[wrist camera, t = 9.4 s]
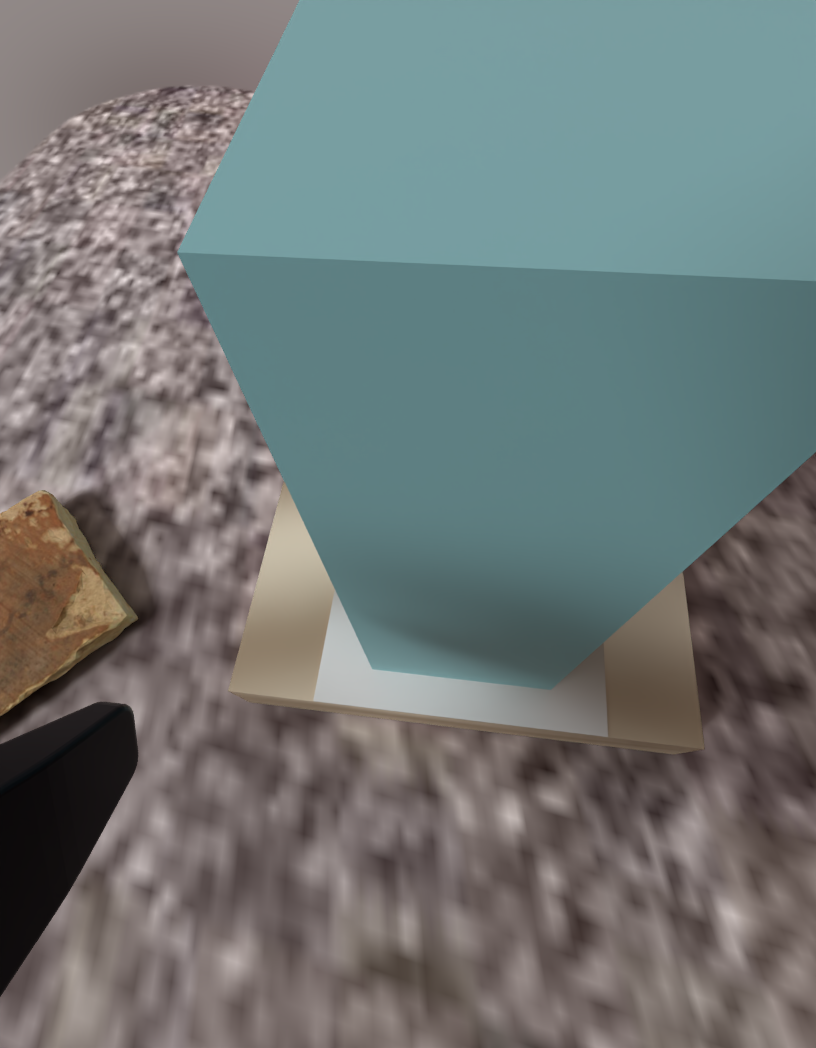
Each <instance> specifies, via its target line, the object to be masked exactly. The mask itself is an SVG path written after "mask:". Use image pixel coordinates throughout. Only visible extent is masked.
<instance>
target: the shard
mask: <svg viewBox="0 0 816 1048" xmlns="http://www.w3.org/2000/svg"><path fill="white" fill-rule="evenodd" d="M137 620H138V617H137V615H136V614H135V613H134V611H133V610H132V608H131V607H130V606H129V604H127V603H126V601H125V600H124V598H123V597H122V595H121V594H120V593H119V591H118V590H117V588H116V587H115V586H114V584H113V583H112V582H111V581H110V579H109V578H108V576H107V575H106V574H105V573H104V571H103V570H102V568H101V566H100V564H99V563H98V561H97V560H96V559H95V557H94V555H93V553H92V551H91V548H90V546H89V544H88V542H87V540H86V538H85V537H84V536H83V534H82V532H81V531H80V530H79V527H78V525H77V522H76V519H75V518H74V517H73V516H72V515H71V514H70V513H69V511H68V510H67V509H65V508H64V507H63V506H62V505H61V504H60V503H59V502H58V500H57V499H56V498H55V497H54V495H52V494H51V493H49V492H47V491H45V490H41V491H38V492H36V493H34V494H32V495H30V496H29V497H27V498H25V499H23V500H21V501H20V502H19V503H18V504H16V505H14V506H12V507H11V508H9V509H8V510H7V511H5V512H2V513H1V514H0V716H2V715H3V714H5V713H6V712H8V711H9V710H10V709H12V708H13V707H14V706H16V705H17V704H19V703H20V702H21V701H22V700H24V699H25V698H27V697H28V696H30V695H31V694H32V693H33V692H35V691H37V690H38V689H39V688H41V687H42V686H44V685H46V684H47V683H49V682H51V681H54V680H56V679H58V678H59V677H61V676H62V675H64V674H65V673H66V672H68V671H69V670H70V669H71V668H72V667H73V666H74V665H75V664H77V663H78V662H79V661H81V660H82V659H84V658H85V657H86V656H87V655H89V654H90V653H92V652H94V651H95V650H97V649H98V648H100V647H101V646H103V645H104V644H106V643H108V642H110V641H112V640H114V639H115V638H116V637H117V636H119V635H120V633H121V632H122V631H123V630H124V629H125V628H126V627H128V626H129V625H130V624H132V623H133V622H135V621H137Z"/></svg>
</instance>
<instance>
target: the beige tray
mask: <svg viewBox="0 0 816 1048" xmlns="http://www.w3.org/2000/svg"><path fill="white" fill-rule="evenodd" d="M228 691H229V692H231V693H233V694H235V695H237V696H239V697H241V698H243V699H245V700H246V701H248V702H252V703H261V704H269V705H277V706H285V707H293V708H301V709H309V710H317V711H325V712H333V713H342V714H350V715H358V716H366V717H374V718H382V719H390V720H398V721H406V722H414V723H423V724H431V725H439V726H447V727H455V728H463V729H471V730H479V731H487V732H495V733H504V734H512V735H520V736H528V737H536V738H544V739H552V740H560V741H568V742H576V743H585V744H593V745H601V746H609V747H617V748H625V749H633V750H641V751H649V752H657V753H666V754H680V753H685V752H691V751H697V750H703V749H705V747H704V739H703V731H702V723H701V715H700V706H699V698H698V690H697V682H696V674H695V666H694V658H693V649H692V641H691V633H690V625H689V617H688V609H687V601H686V592H685V584H684V576H683V572H682V573H680V574H679V575H678V576H677V577H676V578H675V579H674V580H673V581H672V582H670V583H669V584H668V585H667V586H666V587H665V588H664V589H663V590H662V591H660V592H659V593H658V594H657V595H656V596H655V597H654V598H653V599H652V600H650V601H649V602H648V603H647V604H646V605H645V606H644V607H643V608H641V609H640V610H639V611H638V612H637V613H636V614H635V615H634V616H633V617H631V618H630V619H629V620H628V621H627V622H626V623H625V624H624V625H623V626H621V627H620V628H619V629H618V630H617V631H616V632H615V633H614V634H613V635H611V636H610V637H609V638H608V639H607V640H606V641H605V642H604V643H603V644H601V645H600V646H599V647H598V648H597V649H596V650H595V651H594V652H592V653H591V654H590V655H589V656H588V657H587V658H586V659H585V660H584V661H582V662H581V663H580V664H579V665H578V666H577V667H576V668H575V669H574V670H572V671H571V672H570V673H569V674H568V675H567V676H566V677H565V678H564V679H562V680H561V681H560V682H559V683H558V684H557V685H556V686H555V687H554V688H552V689H551V690H546V689H538V688H529V687H521V686H512V685H503V684H495V683H486V682H477V681H469V680H460V679H452V678H443V677H434V676H426V675H417V674H408V673H400V672H391V671H382V670H374V669H372V668H371V666H370V663H369V661H368V659H367V657H366V655H365V653H364V651H363V648H362V646H361V644H360V642H359V640H358V638H357V636H356V633H355V631H354V629H353V627H352V625H351V623H350V621H349V619H348V616H347V614H346V612H345V610H344V608H343V606H342V604H341V601H340V599H339V597H338V595H337V593H336V591H335V589H334V586H333V584H332V582H331V580H330V578H329V576H328V574H327V571H326V569H325V567H324V565H323V563H322V561H321V559H320V556H319V554H318V552H317V550H316V548H315V546H314V544H313V542H312V539H311V537H310V535H309V533H308V531H307V529H306V527H305V524H304V522H303V520H302V518H301V516H300V514H299V512H298V509H297V507H296V505H295V503H294V501H293V499H292V497H291V494H290V492H289V490H288V488H287V486H286V484H285V482H284V483H283V487H282V490H281V494H280V498H279V502H278V505H277V509H276V513H275V517H274V520H273V524H272V528H271V532H270V535H269V539H268V543H267V547H266V550H265V554H264V558H263V562H262V565H261V569H260V573H259V577H258V580H257V584H256V588H255V592H254V596H253V599H252V603H251V607H250V611H249V614H248V618H247V622H246V626H245V629H244V633H243V637H242V641H241V644H240V648H239V652H238V656H237V659H236V663H235V667H234V671H233V674H232V678H231V682H230V686H229V690H228Z"/></svg>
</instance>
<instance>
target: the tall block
mask: <svg viewBox="0 0 816 1048" xmlns="http://www.w3.org/2000/svg"><path fill="white" fill-rule="evenodd" d="M177 253H178V255H179V257H180V259H181V261H182V263H183V266H184V268H185V270H186V272H187V274H188V276H189V278H190V281H191V283H192V285H193V287H194V289H195V291H196V293H197V296H198V298H199V300H200V302H201V304H202V306H203V308H204V311H205V313H206V315H207V317H208V319H209V321H210V323H211V325H212V328H213V330H214V332H215V334H216V336H217V338H218V340H219V343H220V345H221V347H222V349H223V351H224V353H225V355H226V358H227V360H228V362H229V364H230V366H231V368H232V370H233V373H234V375H235V377H236V379H237V381H238V383H239V385H240V388H241V390H242V392H243V394H244V396H245V398H246V400H247V402H248V405H249V407H250V409H251V411H252V413H253V415H254V417H255V420H256V422H257V424H258V426H259V428H260V430H261V432H262V435H263V437H264V439H265V441H266V443H267V445H268V447H269V450H270V452H271V454H272V456H273V458H274V460H275V462H276V465H277V467H278V469H279V471H280V473H281V475H282V477H283V479H284V482H285V484H286V486H287V488H288V490H289V492H290V494H291V497H292V499H293V501H294V503H295V505H296V507H297V509H298V512H299V514H300V516H301V518H302V520H303V522H304V524H305V527H306V529H307V531H308V533H309V535H310V537H311V539H312V542H313V544H314V546H315V548H316V550H317V552H318V554H319V556H320V559H321V561H322V563H323V565H324V567H325V569H326V571H327V574H328V576H329V578H330V580H331V582H332V584H333V586H334V589H335V591H336V593H337V595H338V597H339V599H340V601H341V604H342V606H343V608H344V610H345V612H346V614H347V616H348V619H349V621H350V623H351V625H352V627H353V629H354V631H355V633H356V636H357V638H358V640H359V642H360V644H361V646H362V648H363V651H364V653H365V655H366V657H367V659H368V661H369V663H370V666H371V668H372V669H374V670H382V671H391V672H400V673H408V674H417V675H426V676H434V677H443V678H452V679H460V680H469V681H477V682H486V683H495V684H503V685H512V686H521V687H529V688H538V689H546V690H551V689H552V688H554V687H555V686H556V685H557V684H558V683H559V682H560V681H561V680H562V679H564V678H565V677H566V676H567V675H568V674H569V673H570V672H571V671H572V670H574V669H575V668H576V667H577V666H578V665H579V664H580V663H581V662H582V661H584V660H585V659H586V658H587V657H588V656H589V655H590V654H591V653H592V652H594V651H595V650H596V649H597V648H598V647H599V646H600V645H601V644H603V643H604V642H605V641H606V640H607V639H608V638H609V637H610V636H611V635H613V634H614V633H615V632H616V631H617V630H618V629H619V628H620V627H621V626H623V625H624V624H625V623H626V622H627V621H628V620H629V619H630V618H631V617H633V616H634V615H635V614H636V613H637V612H638V611H639V610H640V609H641V608H643V607H644V606H645V605H646V604H647V603H648V602H649V601H650V600H652V599H653V598H654V597H655V596H656V595H657V594H658V593H659V592H660V591H662V590H663V589H664V588H665V587H666V586H667V585H668V584H669V583H670V582H672V581H673V580H674V579H675V578H676V577H677V576H678V575H679V574H680V573H682V572H683V571H684V570H685V569H686V568H687V567H688V566H689V565H690V564H692V563H693V562H694V561H695V560H696V559H697V558H698V557H699V556H701V555H702V554H703V553H704V552H705V551H706V550H707V549H708V548H709V547H711V546H712V545H713V544H714V543H715V542H716V541H717V540H718V539H719V538H721V537H722V536H723V535H724V534H725V533H726V532H727V531H728V530H729V529H731V528H732V527H733V526H734V525H735V524H736V523H737V522H738V521H739V520H741V519H742V518H743V517H744V516H745V515H746V514H747V513H748V512H750V511H751V510H752V509H753V508H754V507H755V506H756V505H757V504H758V503H760V502H761V501H762V500H763V499H764V498H765V497H766V496H767V495H768V494H770V493H771V492H772V491H773V490H774V489H775V488H776V487H777V486H778V485H780V484H781V483H782V482H783V481H784V480H785V479H786V478H787V477H788V476H790V475H791V474H792V473H793V472H794V471H795V470H796V469H797V468H799V467H800V466H801V465H802V464H803V463H804V462H805V461H806V460H807V459H809V458H810V457H811V456H812V455H813V454H814V453H815V452H816V0H300V1H299V2H298V4H297V7H296V9H295V11H294V13H293V15H292V17H291V19H290V21H289V23H288V25H287V28H286V29H285V32H284V33H283V35H282V37H281V40H280V42H279V44H278V46H277V48H276V50H275V52H274V54H273V56H272V58H271V60H270V62H269V64H268V66H267V69H266V70H265V73H264V75H263V77H262V79H261V81H260V83H259V85H258V87H257V89H256V91H255V93H254V95H253V97H252V99H251V101H250V103H249V106H248V108H247V110H246V112H245V114H244V116H243V118H242V120H241V122H240V124H239V126H238V128H237V130H236V132H235V134H234V136H233V139H232V141H231V143H230V145H229V147H228V149H227V151H226V153H225V155H224V157H223V159H222V161H221V163H220V165H219V167H218V169H217V172H216V174H215V176H214V178H213V180H212V182H211V184H210V186H209V188H208V190H207V192H206V194H205V196H204V198H203V200H202V202H201V205H200V207H199V209H198V211H197V213H196V215H195V217H194V219H193V221H192V223H191V225H190V227H189V229H188V231H187V233H186V235H185V238H184V240H183V242H182V244H181V246H180V248H179V250H178V252H177Z"/></svg>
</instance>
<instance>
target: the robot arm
mask: <svg viewBox="0 0 816 1048" xmlns="http://www.w3.org/2000/svg"><path fill="white" fill-rule="evenodd" d="M137 762H138V746H137V738H136V730H135V721H134V714H133V711H132V709H131V708H130V706H128V705H126V704H120V703H111V702H97V703H94V704H92V705H90V706H87V707H85V708H83V709H80V710H78V711H76V712H73V713H71V714H69V715H67V716H64V717H62V718H60V719H57V720H55V721H53V722H51V723H48V724H46V725H44V726H41V727H39V728H37V729H34V730H32V731H30V732H28V733H25V734H23V735H21V736H18V737H16V738H14V739H11V740H9V741H7V742H5V743H2V744H0V997H1V995H2V994H3V992H4V990H5V989H6V987H7V986H8V984H9V983H10V981H11V980H12V978H13V977H14V975H15V974H16V972H17V971H18V969H19V968H20V966H21V965H22V963H23V962H24V960H25V959H26V957H27V956H28V954H29V953H30V951H31V949H32V948H33V946H34V945H35V943H36V942H37V940H38V939H39V937H40V936H41V934H42V933H43V931H44V930H45V928H46V927H47V925H48V924H49V922H50V921H51V919H52V918H53V916H54V915H55V913H56V911H57V910H58V908H59V907H60V905H61V904H62V902H63V900H64V899H65V897H66V896H67V894H68V892H69V891H70V889H71V887H72V886H73V884H74V882H75V881H76V879H77V877H78V875H79V874H80V872H81V870H82V868H83V866H84V865H85V863H86V861H87V859H88V857H89V855H90V854H91V852H92V850H93V848H94V846H95V844H96V842H97V841H98V839H99V837H100V835H101V833H102V831H103V830H104V828H105V826H106V824H107V822H108V820H109V819H110V817H111V815H112V813H113V811H114V809H115V807H116V806H117V804H118V802H119V800H120V798H121V796H122V795H123V793H124V791H125V789H126V787H127V785H128V784H129V782H130V780H131V778H132V776H133V774H134V772H135V769H136V766H137Z"/></svg>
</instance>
